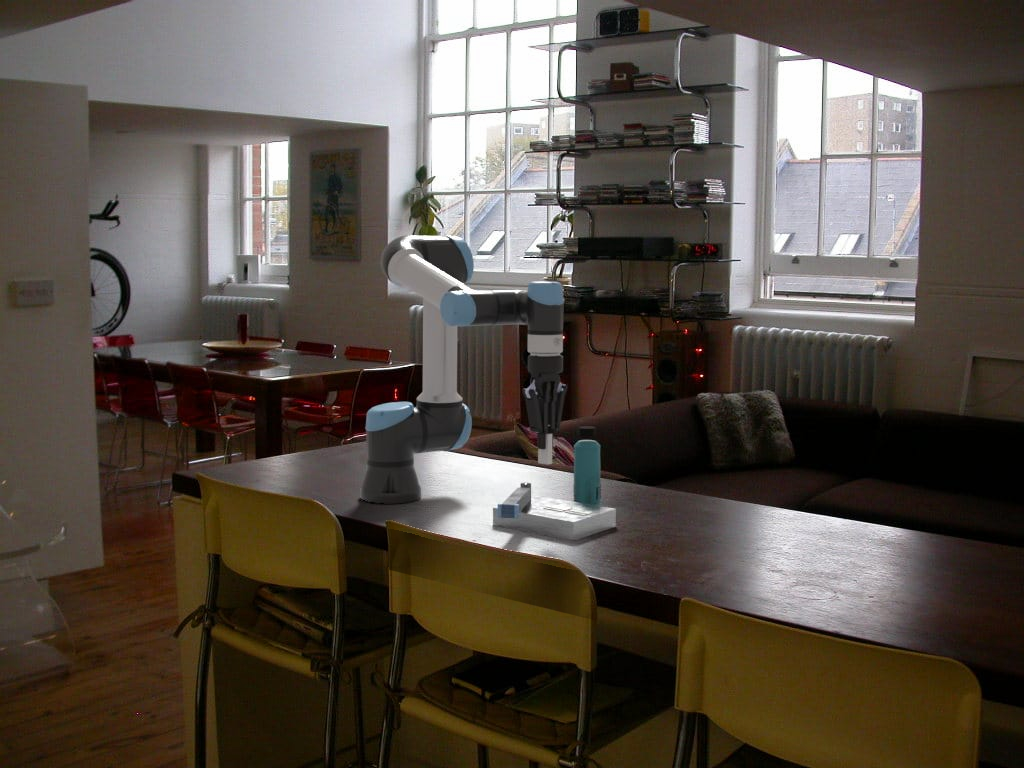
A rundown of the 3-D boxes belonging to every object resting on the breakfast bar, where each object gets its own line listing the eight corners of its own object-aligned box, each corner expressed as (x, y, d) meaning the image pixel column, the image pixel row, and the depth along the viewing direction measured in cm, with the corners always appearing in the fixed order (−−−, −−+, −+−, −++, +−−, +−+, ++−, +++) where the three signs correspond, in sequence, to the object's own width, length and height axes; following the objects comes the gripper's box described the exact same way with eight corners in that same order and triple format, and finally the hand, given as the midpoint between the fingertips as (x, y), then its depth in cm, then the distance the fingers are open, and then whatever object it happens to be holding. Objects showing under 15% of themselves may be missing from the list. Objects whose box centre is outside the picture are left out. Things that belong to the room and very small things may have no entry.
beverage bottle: (599, 514, 255) (599, 429, 253) (570, 512, 256) (571, 428, 254) (602, 508, 261) (603, 425, 259) (574, 506, 263) (575, 424, 260)
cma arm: (514, 499, 246) (514, 487, 246) (533, 500, 245) (533, 488, 245) (497, 517, 229) (497, 504, 229) (518, 518, 228) (518, 505, 228)
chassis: (492, 525, 244) (492, 487, 243) (536, 512, 257) (536, 476, 256) (573, 540, 231) (573, 500, 230) (615, 526, 243) (615, 488, 242)
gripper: (540, 357, 226) (539, 469, 229) (577, 353, 236) (577, 461, 239) (512, 355, 231) (512, 465, 234) (550, 351, 241) (550, 457, 244)
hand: (545, 463), depth 236 cm, fingers closed
